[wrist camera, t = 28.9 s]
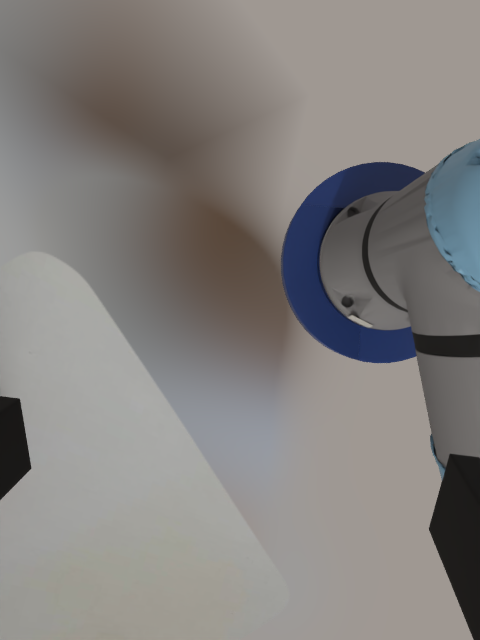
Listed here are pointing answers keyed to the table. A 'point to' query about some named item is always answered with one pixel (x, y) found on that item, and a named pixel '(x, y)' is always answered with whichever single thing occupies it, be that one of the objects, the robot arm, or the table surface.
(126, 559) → the table surface
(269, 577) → the table surface
